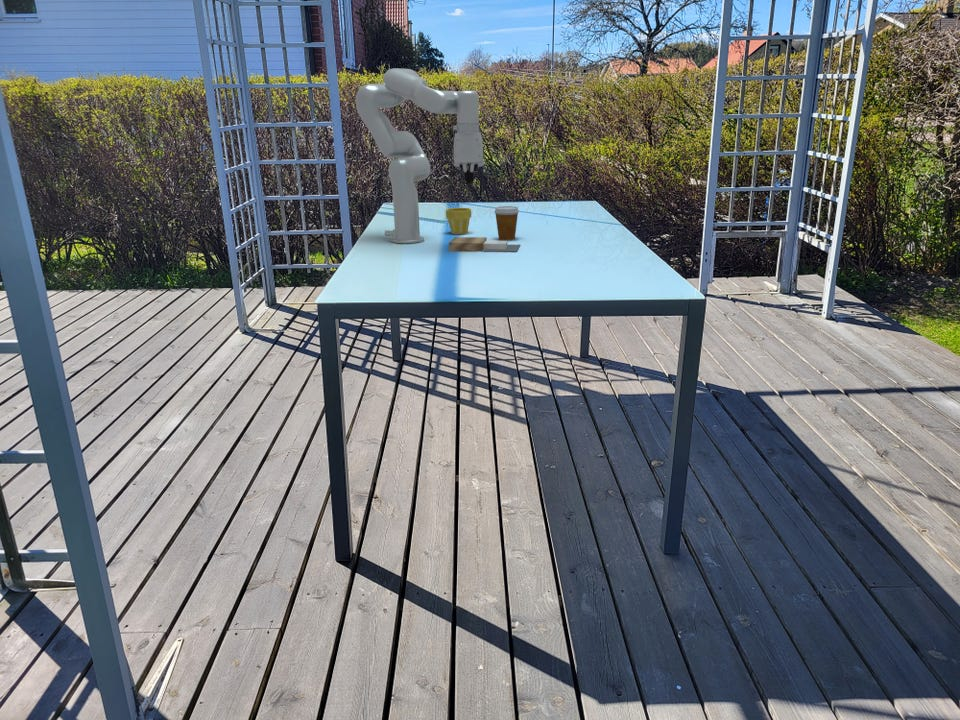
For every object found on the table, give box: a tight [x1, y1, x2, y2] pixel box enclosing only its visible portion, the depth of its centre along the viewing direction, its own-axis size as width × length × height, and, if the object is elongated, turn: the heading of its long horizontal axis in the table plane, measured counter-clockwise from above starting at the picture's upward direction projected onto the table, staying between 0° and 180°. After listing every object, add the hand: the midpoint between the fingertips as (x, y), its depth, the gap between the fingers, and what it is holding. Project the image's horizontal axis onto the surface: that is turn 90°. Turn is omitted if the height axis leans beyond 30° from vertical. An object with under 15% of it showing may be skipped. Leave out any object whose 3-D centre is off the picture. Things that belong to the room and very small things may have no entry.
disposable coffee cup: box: [493, 205, 520, 241], centre depth 273 cm, size 10×10×12 cm
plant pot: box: [445, 207, 472, 235], centre depth 289 cm, size 10×10×10 cm
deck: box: [448, 236, 488, 253], centre depth 258 cm, size 12×12×3 cm
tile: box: [483, 240, 508, 249], centre depth 256 cm, size 8×6×2 cm
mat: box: [482, 244, 521, 253], centre depth 257 cm, size 12×13×1 cm
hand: (469, 183), depth 251 cm, fingers closed
